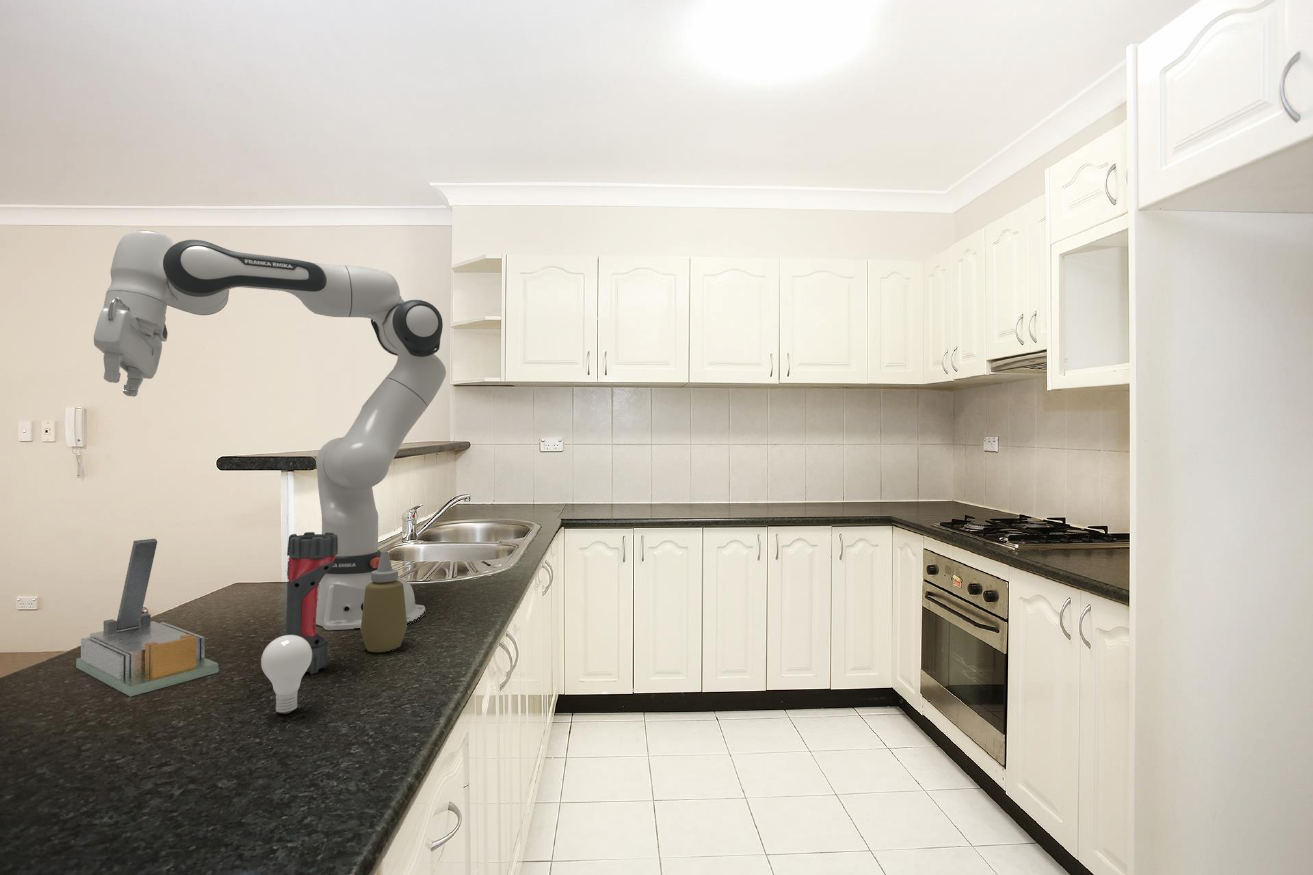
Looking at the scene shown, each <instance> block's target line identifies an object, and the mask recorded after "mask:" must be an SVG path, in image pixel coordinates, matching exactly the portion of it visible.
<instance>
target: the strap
mask: <svg viewBox="0 0 1313 875" xmlns="http://www.w3.org/2000/svg"><path fill="white" fill-rule="evenodd" d="M157 545H158V541H157V539H156V538H147V539H138V540H137V539H136V540H133V542H132V548H131V552H130V558H129V562H128V565H127V566H128V567H127V572H126V575H125V579H124V580H125V581H124V585H123V590H122V596H121V600H120V605H119V609H118V612H117V613H118V614H117V618H116V621H117V631H118V630H123V629H128V628H133V627H138V626H139V623H140V618H141V614H143V609H144V608H143V607H144V604H145V601H146V595H147V591H148V586H149V583H150V582H149V581H150V577H151V571H152V568H153V564H154V559H155V555H156V549H157Z"/></svg>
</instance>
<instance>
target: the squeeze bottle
mask: <svg viewBox="0 0 1313 875" xmlns="http://www.w3.org/2000/svg"><path fill="white" fill-rule="evenodd" d="M380 552H381V556H380V560H379V565H378V569H377V570H375V571H372V572H371V581H372V582H371V583H369V584H368V585H367V586H366V588H365V596H364V605H363V614H362V622H361V628H360V634H361V637H362V641H363V643H364V645H365V648H366V650H367V651H368V652H370V653H387V651H388V652H391V651H390V650H392V649H395V650H397V649H396V648H398V647H399V648H401V646H402V643H403V640H404V637H405V634H406V631H407V628H408V625H407V617H406V607H405V597H404V587H403V583H401V582H400V581H398V580H397V579H398V576H399V570H398V569H397V568H396V569H394V568H393V567H392V566H393V565H392V562H391V558H390V552H389V551H388V550H383V551H380ZM399 648H398V649H399ZM392 651H393V650H392Z"/></svg>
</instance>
